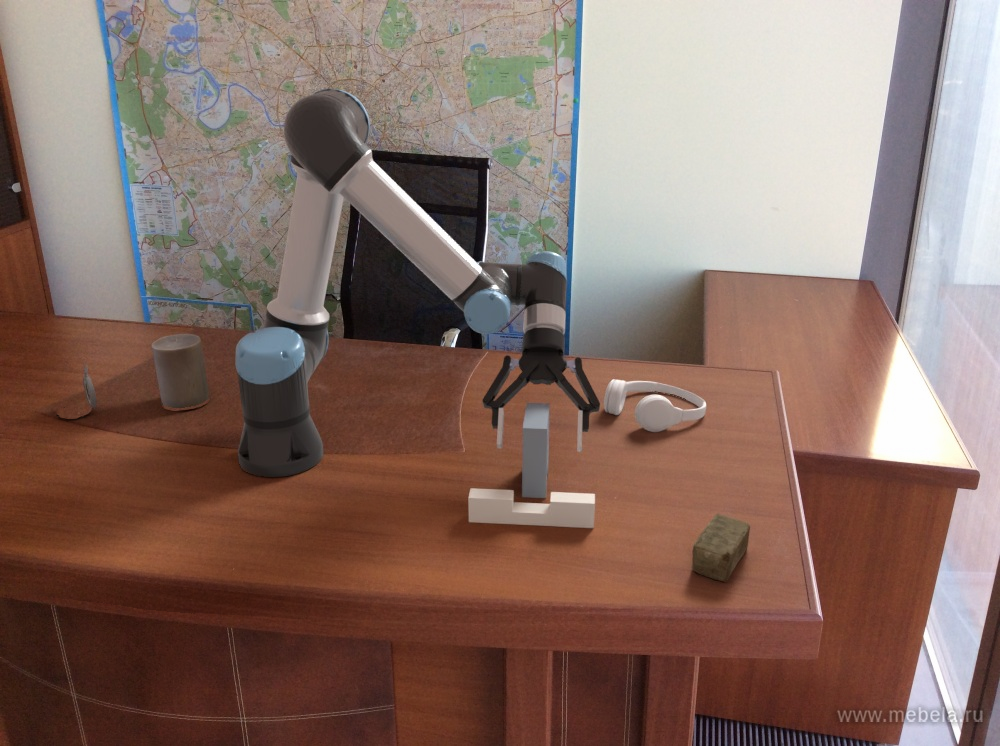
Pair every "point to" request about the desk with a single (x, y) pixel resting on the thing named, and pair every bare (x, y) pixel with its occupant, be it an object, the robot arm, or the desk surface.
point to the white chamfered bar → (531, 509)
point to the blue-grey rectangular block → (535, 450)
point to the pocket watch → (89, 389)
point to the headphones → (652, 404)
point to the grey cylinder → (180, 370)
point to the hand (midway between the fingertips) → (539, 448)
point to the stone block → (720, 547)
